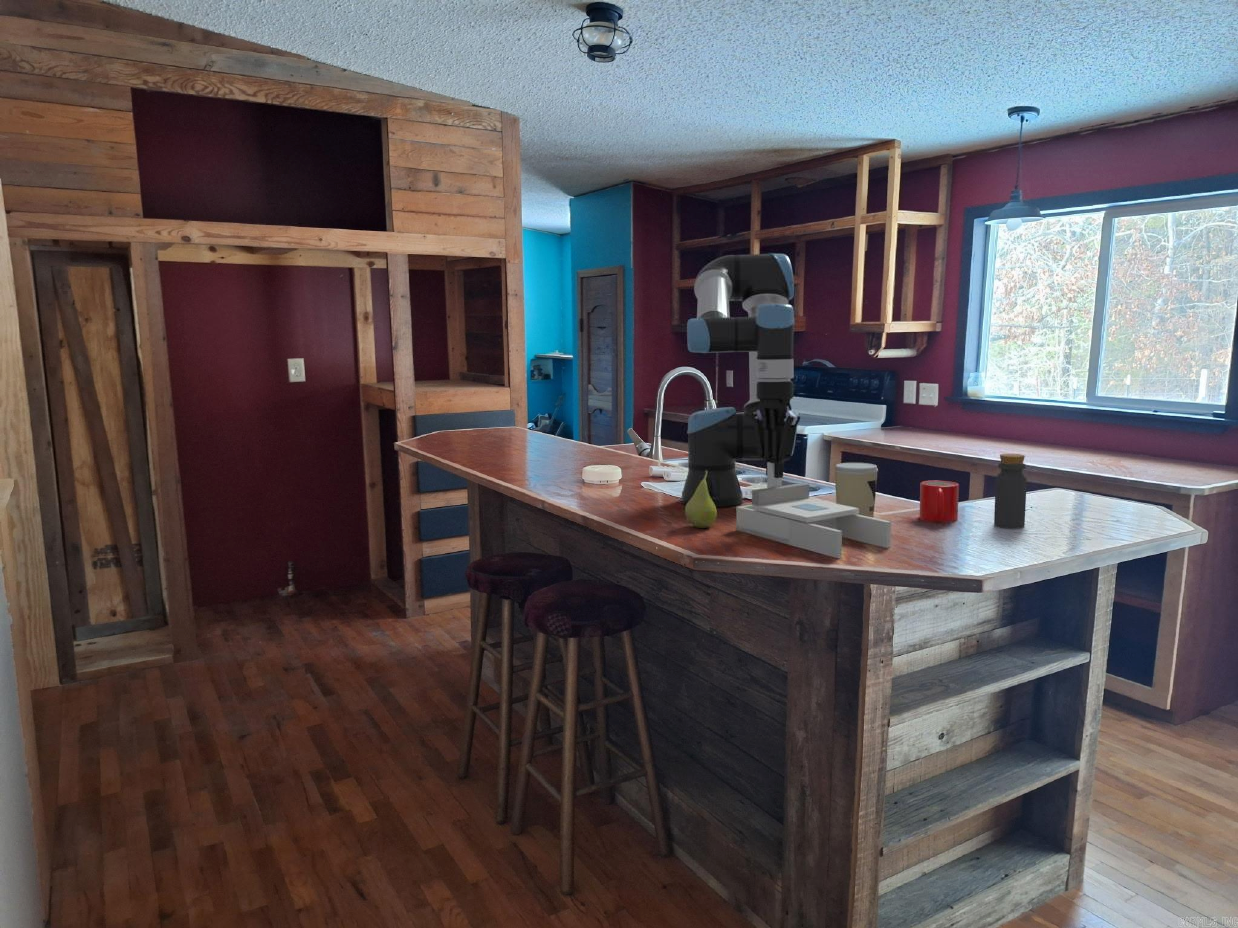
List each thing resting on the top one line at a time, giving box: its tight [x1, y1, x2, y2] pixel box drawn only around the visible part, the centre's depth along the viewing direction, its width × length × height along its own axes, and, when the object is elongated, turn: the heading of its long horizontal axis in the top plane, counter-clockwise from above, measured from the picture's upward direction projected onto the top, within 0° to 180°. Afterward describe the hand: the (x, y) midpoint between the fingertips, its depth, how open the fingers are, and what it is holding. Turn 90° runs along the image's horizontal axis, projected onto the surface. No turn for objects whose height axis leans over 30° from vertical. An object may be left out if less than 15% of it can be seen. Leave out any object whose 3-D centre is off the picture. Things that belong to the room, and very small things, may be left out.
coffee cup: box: [833, 462, 879, 518], centre depth 185 cm, size 9×9×12 cm
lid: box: [751, 482, 859, 522], centre depth 169 cm, size 16×14×4 cm
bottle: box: [993, 453, 1028, 529], centre depth 175 cm, size 6×6×15 cm
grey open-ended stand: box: [736, 504, 892, 559], centre depth 169 cm, size 29×14×5 cm, turn 31°
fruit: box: [684, 470, 718, 529], centre depth 181 cm, size 7×8×12 cm
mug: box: [919, 480, 960, 523], centre depth 182 cm, size 8×12×8 cm, turn 163°
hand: (774, 492), depth 176 cm, fingers closed
